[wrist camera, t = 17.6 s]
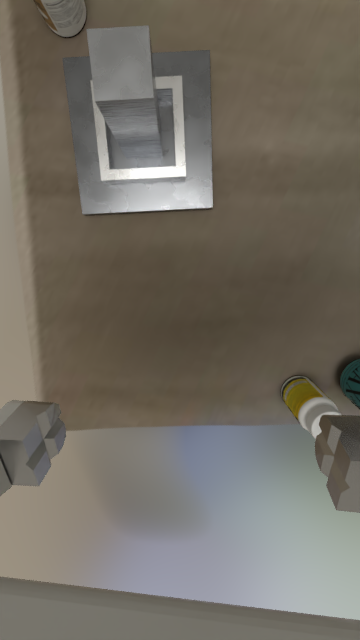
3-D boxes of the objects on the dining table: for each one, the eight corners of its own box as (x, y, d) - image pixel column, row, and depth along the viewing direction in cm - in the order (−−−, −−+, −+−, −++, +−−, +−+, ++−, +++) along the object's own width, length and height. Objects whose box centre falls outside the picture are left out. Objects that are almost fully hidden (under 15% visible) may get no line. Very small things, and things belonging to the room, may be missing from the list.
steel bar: (159, 114, 29) (148, 25, 18) (162, 156, 30) (153, 97, 19) (122, 117, 29) (86, 28, 18) (126, 158, 30) (94, 101, 19)
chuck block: (208, 58, 29) (211, 36, 26) (211, 208, 33) (214, 204, 30) (67, 65, 29) (54, 45, 26) (85, 215, 33) (76, 212, 30)
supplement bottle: (274, 398, 39) (299, 437, 31) (289, 370, 38) (320, 402, 30) (304, 409, 40) (337, 451, 31) (319, 381, 39) (358, 416, 30)
